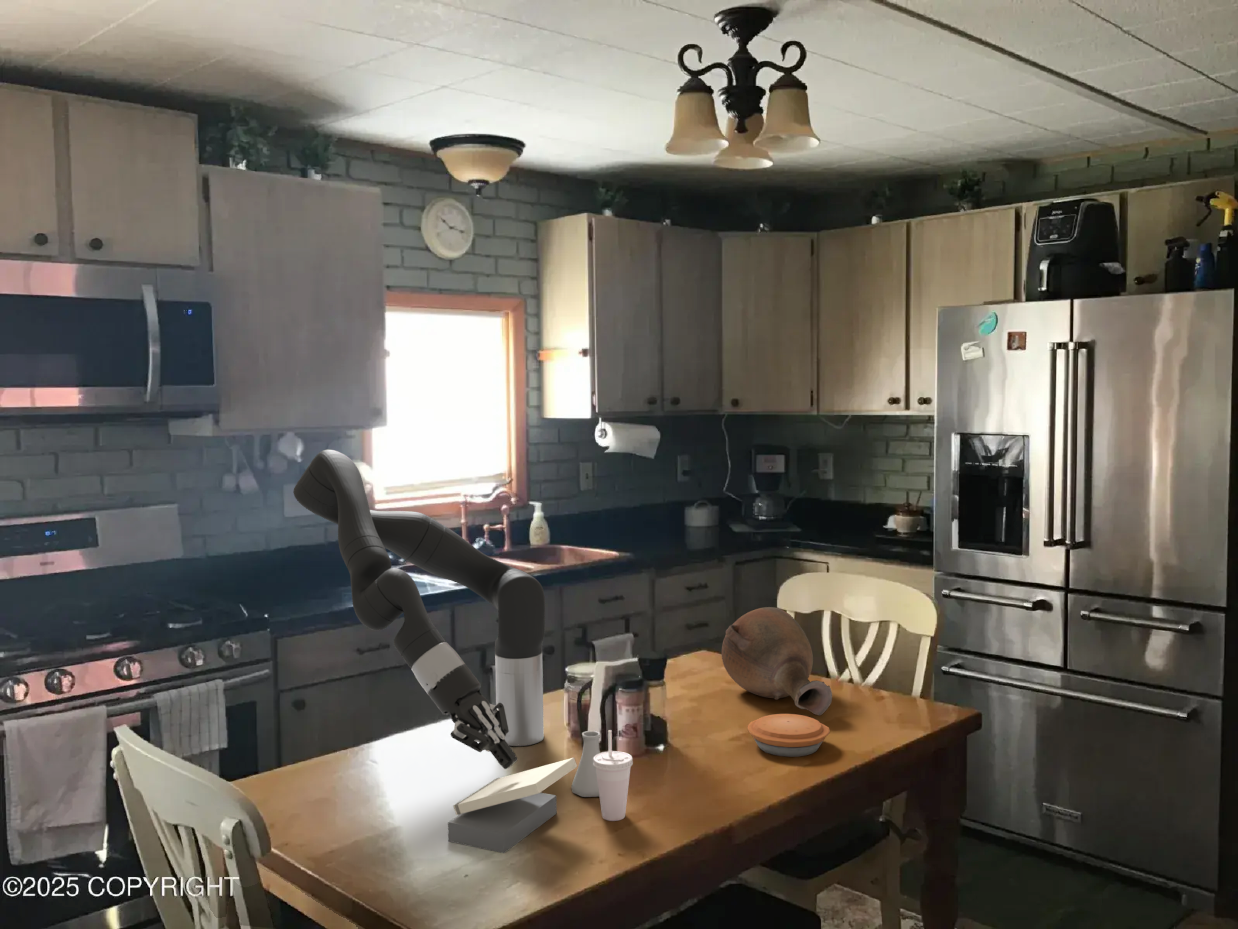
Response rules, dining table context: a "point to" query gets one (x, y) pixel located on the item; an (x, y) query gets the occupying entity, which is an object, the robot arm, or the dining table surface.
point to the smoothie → (613, 781)
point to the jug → (773, 659)
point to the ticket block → (502, 822)
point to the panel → (515, 786)
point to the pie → (788, 734)
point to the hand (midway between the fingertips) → (511, 764)
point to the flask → (587, 767)
